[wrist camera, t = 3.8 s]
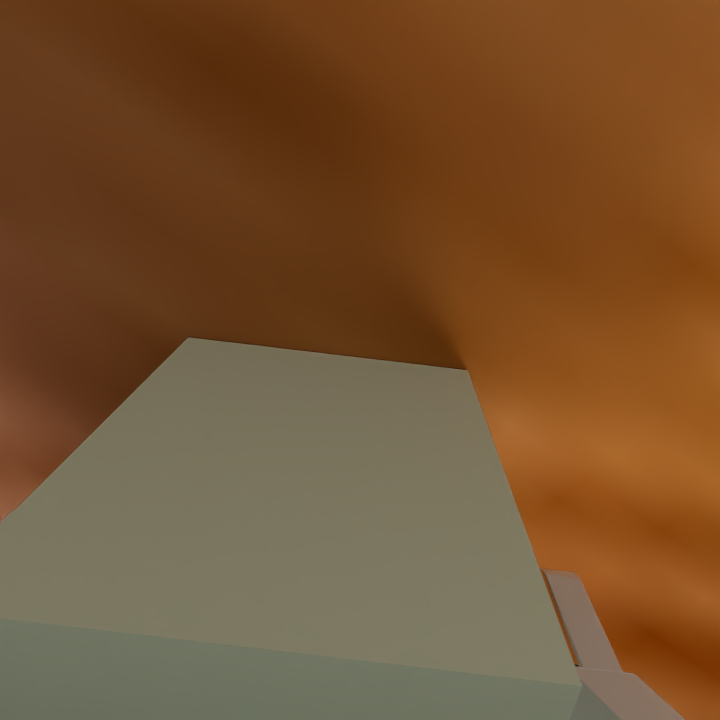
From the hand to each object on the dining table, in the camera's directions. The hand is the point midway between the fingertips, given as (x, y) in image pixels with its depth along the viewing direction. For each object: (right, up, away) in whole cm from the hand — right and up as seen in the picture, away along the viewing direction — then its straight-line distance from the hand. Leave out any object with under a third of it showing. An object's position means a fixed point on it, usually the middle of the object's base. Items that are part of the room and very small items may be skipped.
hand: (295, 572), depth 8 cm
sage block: (0, +1, +2) cm, 3 cm away
